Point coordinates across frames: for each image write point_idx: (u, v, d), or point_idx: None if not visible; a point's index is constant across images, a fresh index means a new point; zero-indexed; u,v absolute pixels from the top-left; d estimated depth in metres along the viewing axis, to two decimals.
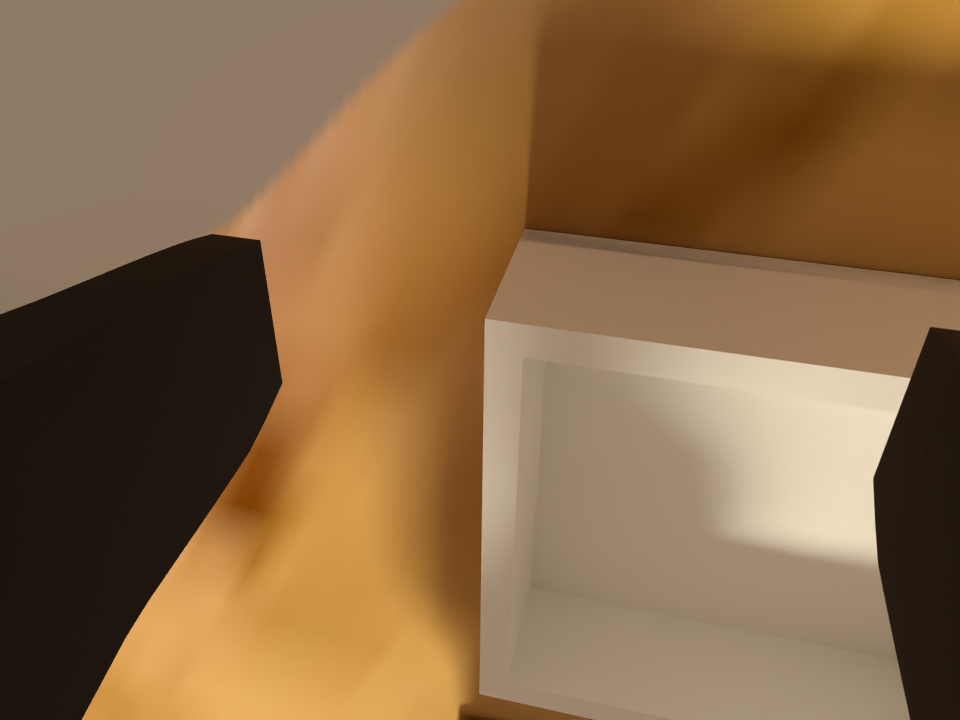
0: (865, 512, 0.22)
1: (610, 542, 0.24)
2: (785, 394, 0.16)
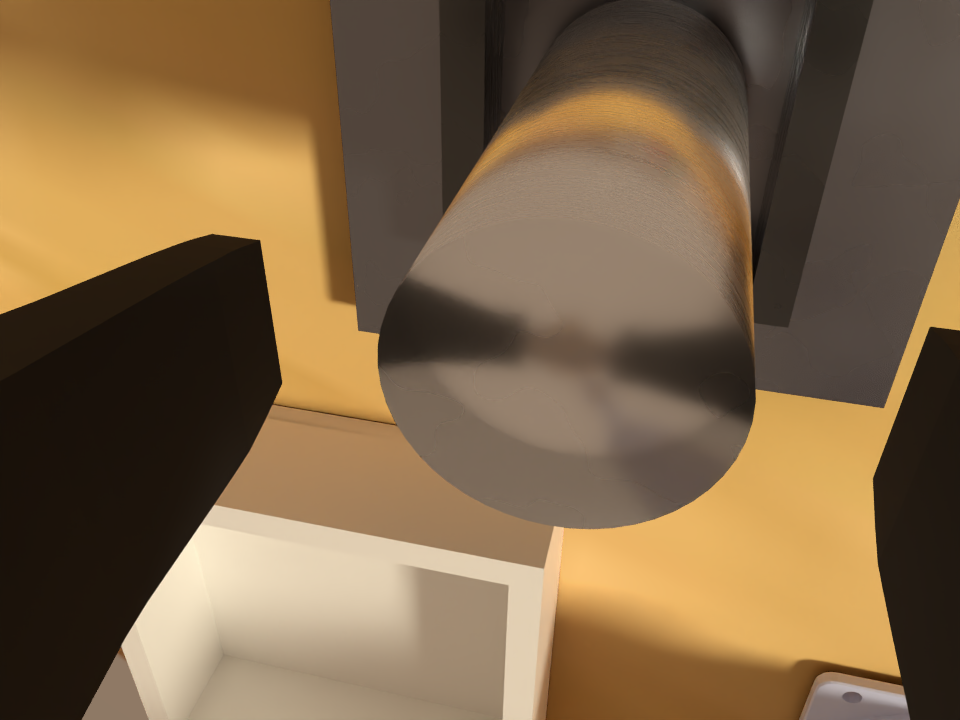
0: None
1: (445, 667, 0.29)
2: (143, 643, 0.26)
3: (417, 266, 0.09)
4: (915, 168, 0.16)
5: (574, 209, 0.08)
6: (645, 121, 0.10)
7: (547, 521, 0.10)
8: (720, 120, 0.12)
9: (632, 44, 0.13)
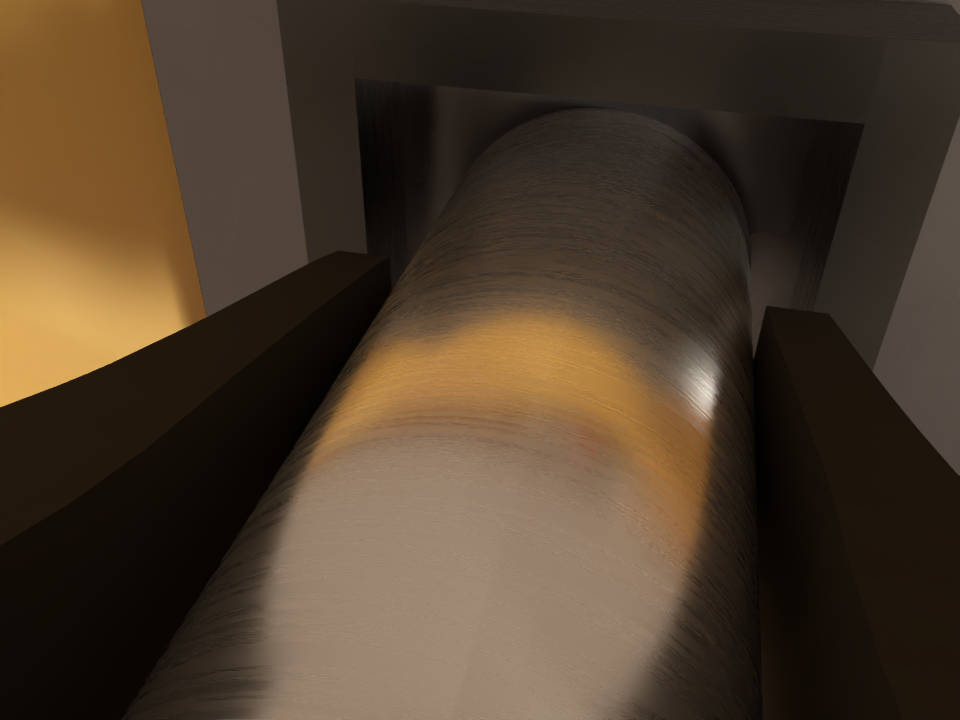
0: None
1: None
2: None
3: None
4: None
5: None
6: (562, 445, 0.05)
7: None
8: (706, 373, 0.07)
9: (568, 218, 0.08)
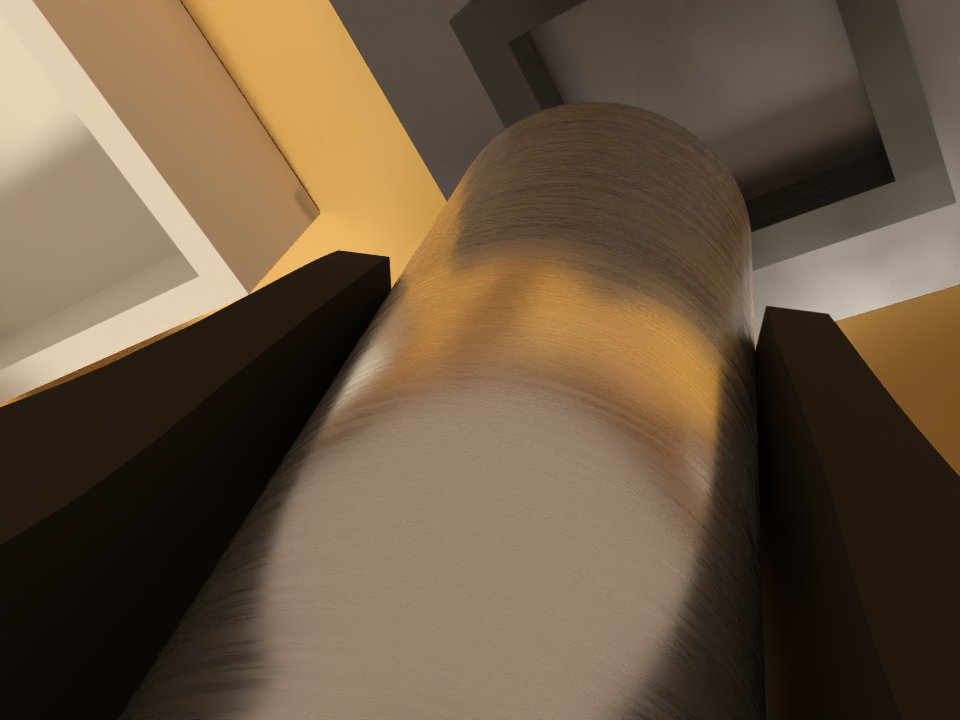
0: None
1: None
2: None
3: None
4: (763, 306, 0.19)
5: None
6: (569, 427, 0.06)
7: None
8: (709, 360, 0.07)
9: (572, 208, 0.08)
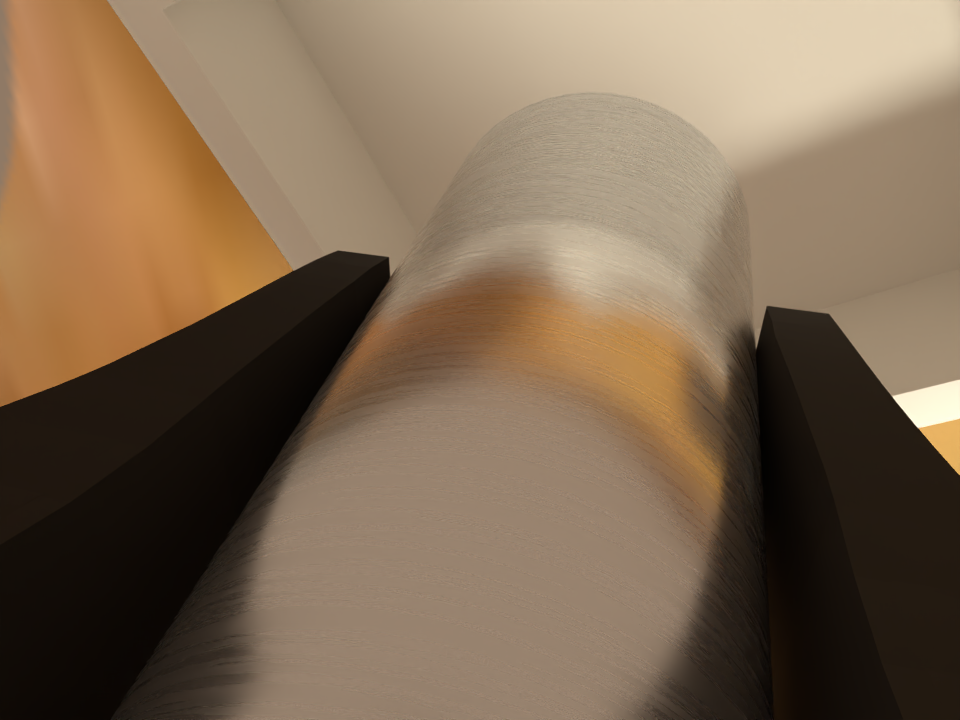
0: (790, 47, 0.15)
1: None
2: None
3: None
4: None
5: None
6: (578, 417, 0.05)
7: None
8: (715, 353, 0.07)
9: (575, 198, 0.08)
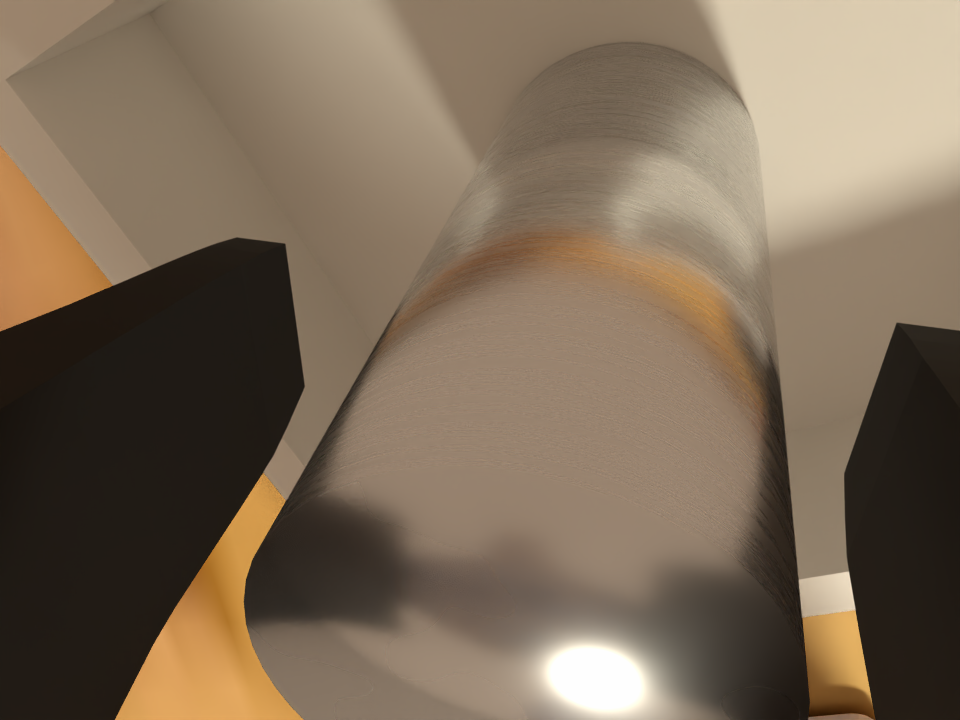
0: (802, 118, 0.12)
1: None
2: None
3: (292, 515, 0.06)
4: None
5: (537, 450, 0.05)
6: (641, 255, 0.07)
7: None
8: (739, 231, 0.09)
9: (622, 117, 0.10)
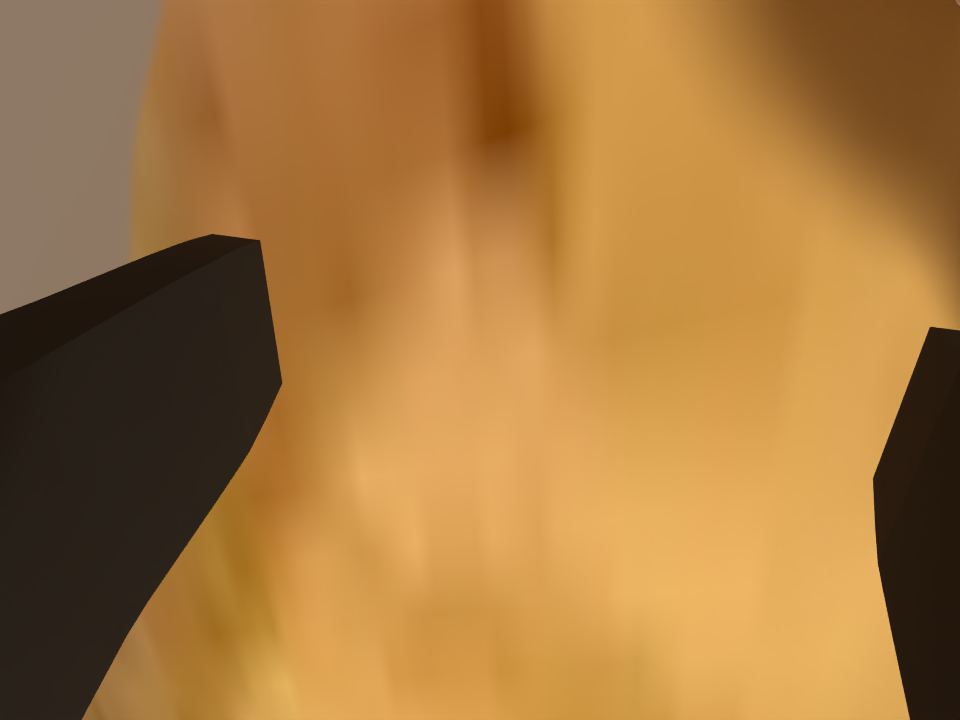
0: None
1: None
2: None
3: None
4: None
5: None
6: None
7: None
8: None
9: None
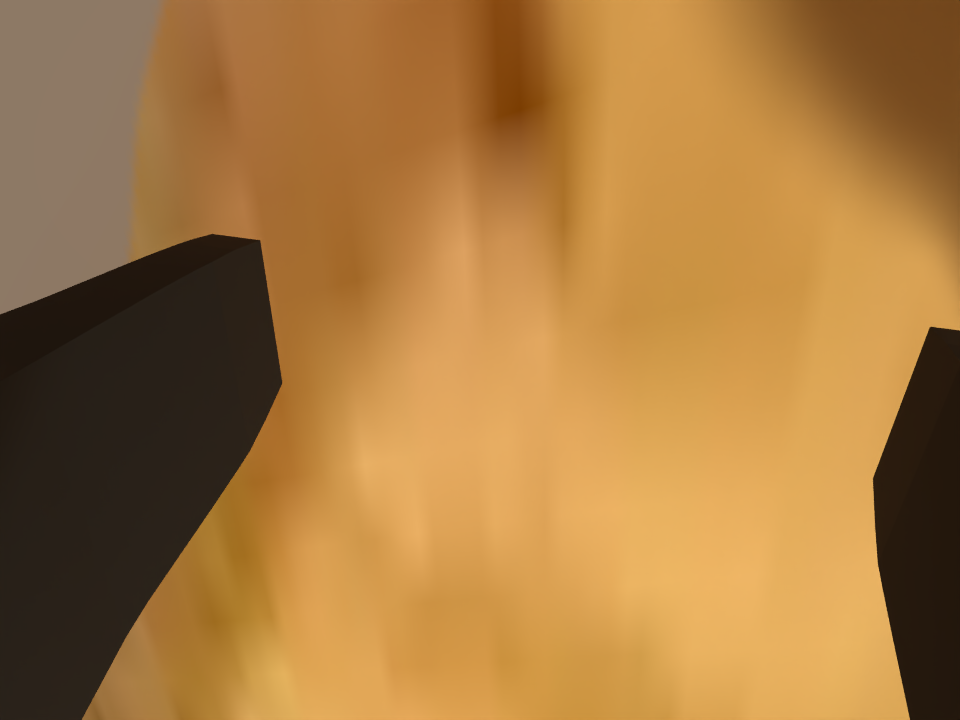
0: None
1: None
2: None
3: None
4: None
5: None
6: None
7: None
8: None
9: None
